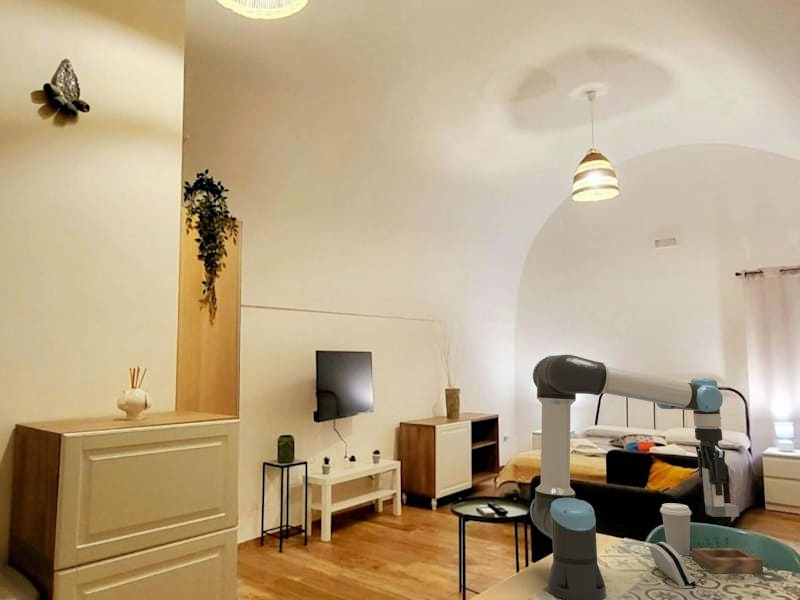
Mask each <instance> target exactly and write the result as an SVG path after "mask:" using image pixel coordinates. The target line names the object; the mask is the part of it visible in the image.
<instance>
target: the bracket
mask: <svg viewBox="0 0 800 600" xmlns="http://www.w3.org/2000/svg"><path fill="white" fill-rule="evenodd" d="M702 475H703V479H702V484H703V495H704V496H703V498H704V505H705V506H704V508H705V514H706V515H707V516H711V518H712V517H727V518H728V517H740V511H739V505H736V504H733V503H732V502H731V503H729V502H728V503H725V496H724V495H725V493H724V484H723V485H722V492H723V504H724V507H715V506H713V494H712V484H711V483H713V479H712V473H711V468H710V467H702Z"/></svg>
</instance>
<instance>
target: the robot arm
mask: <svg viewBox="0 0 800 600" xmlns="http://www.w3.org/2000/svg"><path fill="white" fill-rule="evenodd" d="M532 370H533V371H532V380H533V384H534V385H535V387H536V399H537V400H538V401H539V402H540V403H541V427H540V428H541V429H540V431H541V438H540V439H541V442H540V445H541V446H540V447H541V448H540V449H541V450H540V484H539V485H538V486H536V487H535V494H534V496H535V497H534V499H533V500H532V502H531V503H530V510H529V512H530V517H531V520H532V523H533V524H534V525H535V527H536V529H537V530H539V531H540V533H542V534H544V535H545V536H547V537H548V538H550V539H551V542H552V543H551V544H552V556H553V557H552V559H553V560H552V564H551V568H550V571H549V573H548V578H547V590H548V592H549V593H550V594H551V595H552V596H555V597H557V598H559V599H563V600H603V599H604V598H606V596H607V589H606V584H605V580H604V578H603V575H602V572H601V569H600V566H599V564H598V552H597V551H598V548H597V547H598V546H597V530H596V529H597V527H596V525H597V524H596V522H597V521H596V519H597V518H596V515H595V509H594V508H593V506H592V505H591V504H590V503H589V502H587V501H585V500H583V499H578V498H576V492H575V490H574V489H573V488H572V487H571V406H572V405H573V404H574V403H575V402H576V399H577V394H578V395H580V394H583V395H584V394H585V395H593V396H601V395H602V394H608V395H613V396H618V397H623V398H629V399H635V400H640V401H644V402H650V403H655V404H656V406H657V407H658V408H660V409H662V410H684V411H685V410H686V411H692V412H693V425H694V426H695V428H694V434H695V435H694V436H695V440H696V441H700V443H699V445H696V446H695V451H696V455H697V456H696V457H697V466H698V467H697V468H698V475H699V478H701V479H702V480H703V475H702V467H710V468H711V473H712V479H713V483H711V484H712V494H713V506H715V507H724V504H723V492H724V491H723V492H722V485H723V486H724V484H727V475H726V473H727V472H726V463H725V462H726V460H725V459H726V458H725V457H726V451H725V450H722V449H720V445H719V442H721V441H723V430H722V429H721V428H720V427H722V417H721V407H722V405H723V400H724V399H723V398H724V397H723V393H722V392H721V390H719V386H718V381H717V379H715V378H712V377H711V378H707V377H706V378H705V377H702V378H700V377H699V378H694V377H693V378H691V380H690V382H686V381H682V380H676V379H671V378H665V377H661V376H656V375H649V374H645V373H640V372H634V371H630V370H629V371H628V370H626V369H625V370H624V369H618V368H614V367H608V366H607V365H606V364H605V363H604V362H600V361H598V360H592V359H587V358H584V357H580V356H577V355H573V354H558V355H549V356H546V357H543V358H542V359H540V360H539V361H538V362H537V363H536V364H535V366H534V367H533V369H532Z"/></svg>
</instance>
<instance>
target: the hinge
mask: <svg viewBox="0 0 800 600" xmlns="http://www.w3.org/2000/svg"><path fill="white" fill-rule="evenodd" d="M648 549H649V551H650V554H651V557H652V559H653V561H654V565H655V567H656V566H657V567H658V568H659V569H658V568H657V567H656V568H657V569H658V570H659V571H661V570H662V571H663V572H664V573H663V572H662V571H661V572H662V573H663V574H665V575H666V574H667V575H668V576H669V577H668V576H667V575H666V576H667V577H668V578H670V579H671V580H672V579H673V580H672V581H673V582H675V583H676V584H677V583H678V584H677V585H679V586H680V585H681V586H680V587H684V586H686V584H687V583H688V584H694V585H695V586H696V585H698V586H699V583H698V581H697V579H696V578H695V577H694V576H692V575H691V574H690V572H689V570H688V568H687V566H686V564H685V562H684V560H683V558H682V556H680V555H679V554H678V553H677V552H676V551H675V550H674V549H673V548H672V547H671V546H670V545H668V544H667V543H666V542H665V541H659V542H656V543H652V544H650V545H649V547H648ZM692 582H693V583H692Z"/></svg>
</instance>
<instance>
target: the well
mask: <svg viewBox="0 0 800 600" xmlns="http://www.w3.org/2000/svg"><path fill="white" fill-rule="evenodd" d="M690 554H691V561H692V560H693V561H694V562H693V561H692V562H693V563H695V562H696V563H697V564H696V563H695V564H696V565H698V564H699V565H700V566H699V565H698V566H699V567H701V566H702V567H704V568H705V569H707V570H708V571H709V572H708V571H707V570H706V571H707V572H708V573H710V572H711V573H715V575H717V574H718V575H720V574H721V575H725V574H729V575H730V574H733V575H734V574H735V575H736V574H737V575H738V574H739V575H741V574H743V575H745V574H746V575H747V574H748V575H749V574H757V575H758V574H762V575H763V574H764V565H763V559H761V558H759V557H757V556H755V555H754V554H751V553H749V552H748V551H746V550H744V549H742V548H740V547H690ZM702 567H701V568H702ZM704 568H703V569H704ZM705 569H704V570H705ZM711 573H710V574H711Z"/></svg>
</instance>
